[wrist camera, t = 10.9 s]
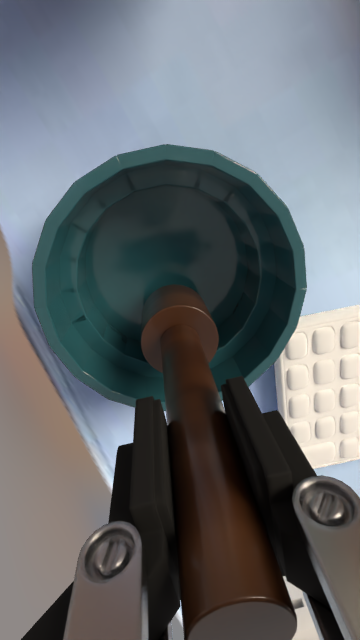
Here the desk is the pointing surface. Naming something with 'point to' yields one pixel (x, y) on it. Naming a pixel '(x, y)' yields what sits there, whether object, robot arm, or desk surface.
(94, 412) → the desk surface
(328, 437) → the calculator
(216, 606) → the muddler
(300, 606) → the power adapter
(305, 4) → the desk surface
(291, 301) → the bowl
